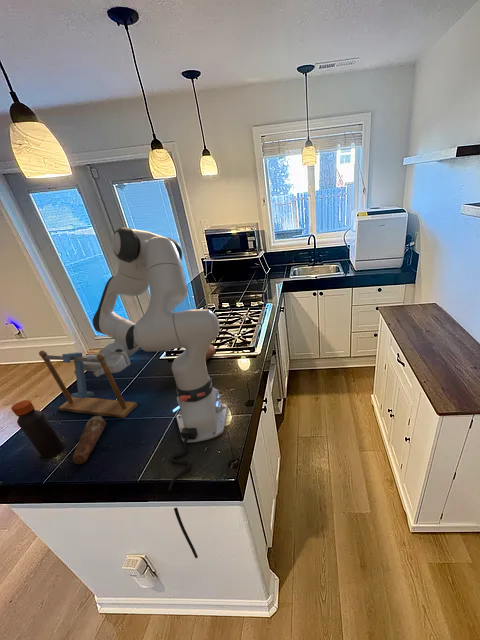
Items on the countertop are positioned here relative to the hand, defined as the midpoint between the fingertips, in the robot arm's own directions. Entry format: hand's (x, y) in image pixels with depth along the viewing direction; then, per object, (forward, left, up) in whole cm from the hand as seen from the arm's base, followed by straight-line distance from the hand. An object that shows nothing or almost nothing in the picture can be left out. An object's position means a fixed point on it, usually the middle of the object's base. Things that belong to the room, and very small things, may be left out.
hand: (85, 374), depth 119 cm
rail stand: (-1, +1, -15) cm, 15 cm away
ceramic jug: (+27, -40, -15) cm, 50 cm away
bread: (-24, -3, -15) cm, 29 cm away
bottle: (-23, +10, -15) cm, 29 cm away
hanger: (-5, +3, -6) cm, 9 cm away
